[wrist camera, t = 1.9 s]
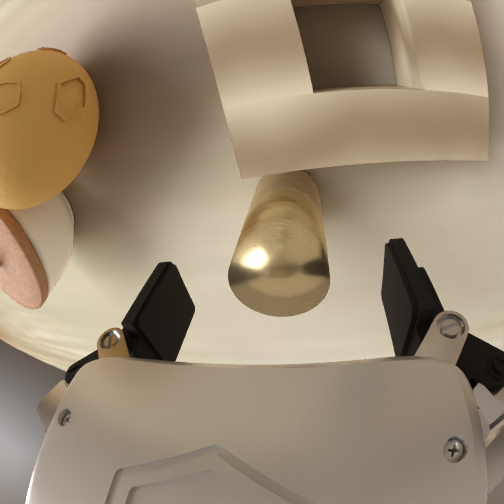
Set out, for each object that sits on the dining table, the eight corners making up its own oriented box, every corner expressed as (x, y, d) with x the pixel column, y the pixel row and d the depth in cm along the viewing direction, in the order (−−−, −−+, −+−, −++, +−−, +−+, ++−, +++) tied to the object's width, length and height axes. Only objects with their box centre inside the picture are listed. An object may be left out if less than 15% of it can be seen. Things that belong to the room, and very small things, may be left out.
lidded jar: (94, 271, 24) (44, 342, 17) (26, 234, 23) (-25, 287, 16) (95, 175, 18) (9, 246, 11) (17, 147, 17) (-57, 194, 10)
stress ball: (109, 174, 19) (133, 150, 11) (5, 232, 14) (-43, 251, 6) (79, 70, 15) (93, -5, 7) (-24, 120, 11) (-68, 72, 3)
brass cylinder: (249, 171, 17) (215, 245, 10) (314, 162, 16) (326, 233, 9) (262, 227, 19) (242, 318, 12) (322, 220, 18) (331, 313, 11)
